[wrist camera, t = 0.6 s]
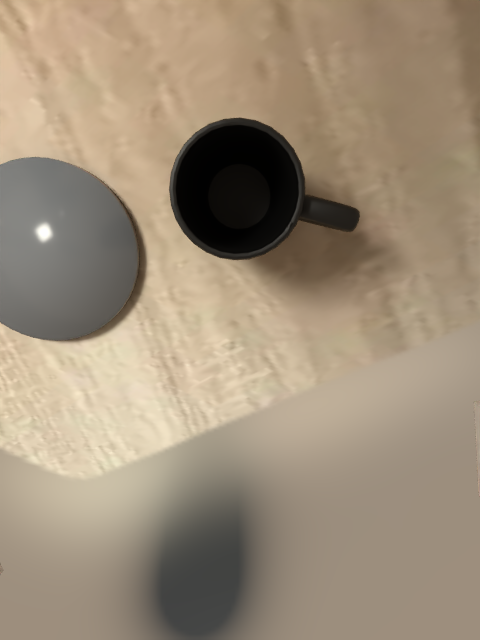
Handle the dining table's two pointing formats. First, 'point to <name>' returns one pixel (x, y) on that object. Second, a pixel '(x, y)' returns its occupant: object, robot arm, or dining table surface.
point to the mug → (245, 191)
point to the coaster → (62, 250)
